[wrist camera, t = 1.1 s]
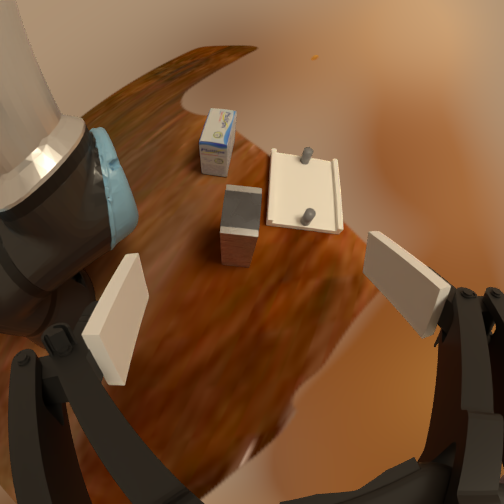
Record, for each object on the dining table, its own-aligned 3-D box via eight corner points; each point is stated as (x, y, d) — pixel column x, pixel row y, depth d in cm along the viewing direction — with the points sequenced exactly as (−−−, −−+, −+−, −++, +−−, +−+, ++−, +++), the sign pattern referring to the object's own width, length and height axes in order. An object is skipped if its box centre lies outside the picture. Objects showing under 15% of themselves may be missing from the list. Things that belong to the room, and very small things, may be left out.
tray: (265, 225, 43) (269, 213, 39) (270, 155, 47) (273, 140, 43) (338, 234, 43) (348, 224, 40) (333, 165, 48) (341, 152, 44)
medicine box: (211, 140, 47) (209, 106, 39) (235, 143, 48) (237, 109, 39) (201, 174, 45) (197, 141, 37) (227, 178, 45) (228, 144, 37)
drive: (221, 264, 40) (219, 232, 29) (226, 226, 42) (226, 184, 31) (249, 267, 40) (258, 236, 29) (252, 229, 42) (262, 188, 31)
